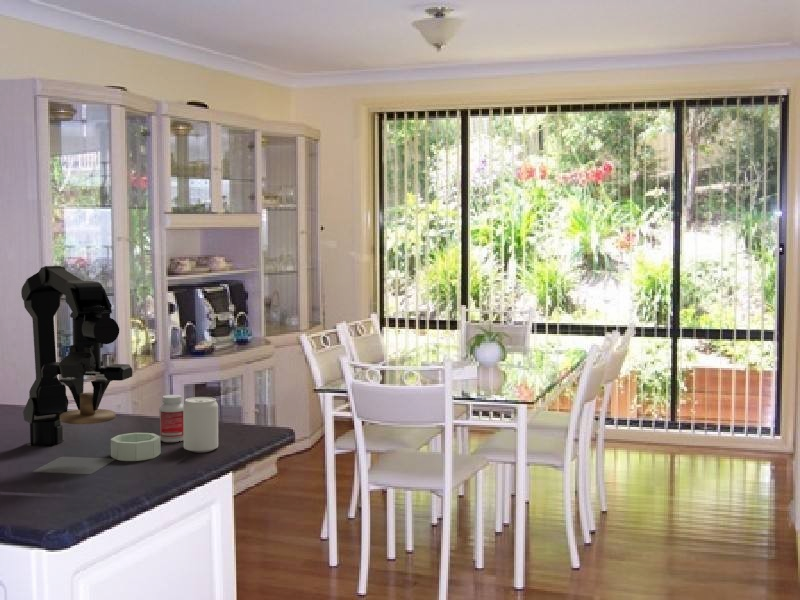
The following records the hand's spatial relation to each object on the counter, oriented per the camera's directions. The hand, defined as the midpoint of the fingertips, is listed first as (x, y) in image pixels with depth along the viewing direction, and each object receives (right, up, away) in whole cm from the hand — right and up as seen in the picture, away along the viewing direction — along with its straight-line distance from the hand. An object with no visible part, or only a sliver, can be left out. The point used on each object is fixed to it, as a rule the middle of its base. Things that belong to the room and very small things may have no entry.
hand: (87, 409), depth 206 cm
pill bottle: (+12, -11, +26) cm, 31 cm away
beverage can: (+21, -12, +17) cm, 30 cm away
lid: (0, -2, 0) cm, 2 cm away
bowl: (+8, -12, +8) cm, 17 cm away
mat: (-2, -13, -1) cm, 13 cm away
